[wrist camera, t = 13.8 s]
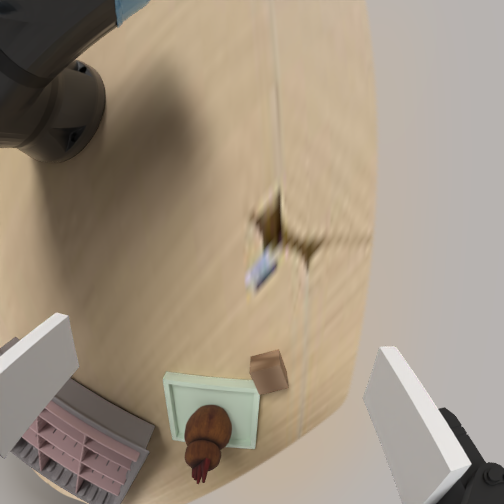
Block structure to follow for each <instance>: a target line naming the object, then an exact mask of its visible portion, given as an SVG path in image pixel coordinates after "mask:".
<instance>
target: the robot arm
mask: <svg viewBox="0 0 504 504" xmlns="http://www.w3.org/2000/svg"><path fill="white" fill-rule="evenodd" d="M149 2H150V0H0V148H17V149H19V150H20V151H22V152H24V153H25V154H27V155H29V156H30V157H32V158H33V159H35V160H38V161H41V162H54V163H56V162H62V161H65V160H68V159H70V158H72V157H73V156H75V155H76V154H78V153H79V152H80V151H81V150H82V149H83V148H84V147H85V146H86V145H87V144H88V142H89V141H90V140H91V138H92V137H93V135H94V133H95V131H96V129H97V127H98V125H99V123H100V120H101V117H102V114H103V109H104V103H105V90H104V85H103V81H102V79H101V77H100V75H99V74H98V72H97V71H96V70H95V69H94V68H92V67H91V66H89V65H87V64H85V63H84V62H81V61H78V60H75V59H76V58H77V57H78V56H80V55H81V54H82V53H83V52H84V51H86V50H87V49H88V48H89V47H91V46H92V45H93V44H94V43H96V42H97V41H98V40H100V39H101V38H102V37H104V36H105V35H106V34H108V33H109V32H110V31H112V30H113V29H115V28H116V27H117V28H118V27H120V26H121V25H122V23H123V22H124V21H125V20H126V19H128V18H129V17H130V16H132V15H133V14H134V13H136V12H137V11H139V10H140V9H142V8H143V7H144V6H146V5H147V4H148V3H149ZM78 368H79V363H78V359H77V354H76V350H75V346H74V341H73V336H72V331H71V326H70V320H69V315H64V314H60V313H55V314H53V315H52V316H51V317H49V318H48V319H47V320H46V321H44V322H43V323H42V324H40V325H39V326H38V327H36V328H35V329H34V330H33V331H31V332H30V333H29V334H27V335H26V336H25V337H24V338H22V339H21V340H20V341H19V342H17V343H16V344H15V345H14V346H12V347H11V348H10V349H9V350H7V351H6V352H5V353H4V354H3V355H1V356H0V456H1V457H2V458H4V459H5V458H6V456H7V455H8V454H9V452H10V451H11V450H12V449H13V447H14V446H15V445H16V443H17V442H18V441H19V439H20V438H21V437H22V436H23V434H24V433H25V432H26V430H27V429H28V428H29V427H30V425H31V424H32V423H33V422H34V420H35V419H36V418H37V417H38V415H39V414H40V413H41V412H42V411H43V409H44V408H45V407H46V406H47V404H48V403H49V402H50V401H51V400H52V398H53V397H54V396H55V395H56V394H57V392H58V391H59V390H60V389H61V388H62V386H63V385H64V384H65V383H66V382H67V381H68V379H69V378H70V377H71V376H72V375H73V374H74V372H75V371H76V370H77V369H78ZM363 400H364V402H365V405H366V407H367V410H368V412H369V415H370V417H371V420H372V422H373V425H374V427H375V430H376V433H377V435H378V438H379V441H380V443H381V446H382V448H383V451H384V454H385V456H386V459H387V462H388V465H389V467H390V470H391V473H392V476H393V478H394V481H395V484H396V487H397V490H398V492H399V496H400V498H401V501H402V504H504V468H503V467H502V466H501V465H498V464H496V463H490V462H488V463H486V462H485V461H484V459H483V458H482V456H481V454H480V453H479V451H478V450H477V448H476V446H475V445H474V444H473V442H472V440H471V439H470V437H469V436H468V435H466V431H465V429H464V428H463V427H461V423H460V422H459V421H458V419H457V417H456V416H455V415H454V414H453V413H451V412H450V411H449V410H447V409H446V408H440V409H438V408H437V407H436V405H435V404H434V402H433V401H432V399H431V397H430V396H429V394H428V393H427V391H426V390H425V389H424V387H423V385H422V384H421V382H420V381H419V379H418V378H417V377H416V375H415V374H414V372H413V371H412V369H411V368H410V366H409V365H408V363H407V362H406V361H405V359H404V358H403V356H402V355H401V353H400V352H399V351H398V349H397V348H396V347H395V346H393V347H379V350H378V353H377V356H376V360H375V363H374V367H373V369H372V372H371V376H370V379H369V381H368V385H367V387H366V390H365V393H364V396H363Z"/></svg>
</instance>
